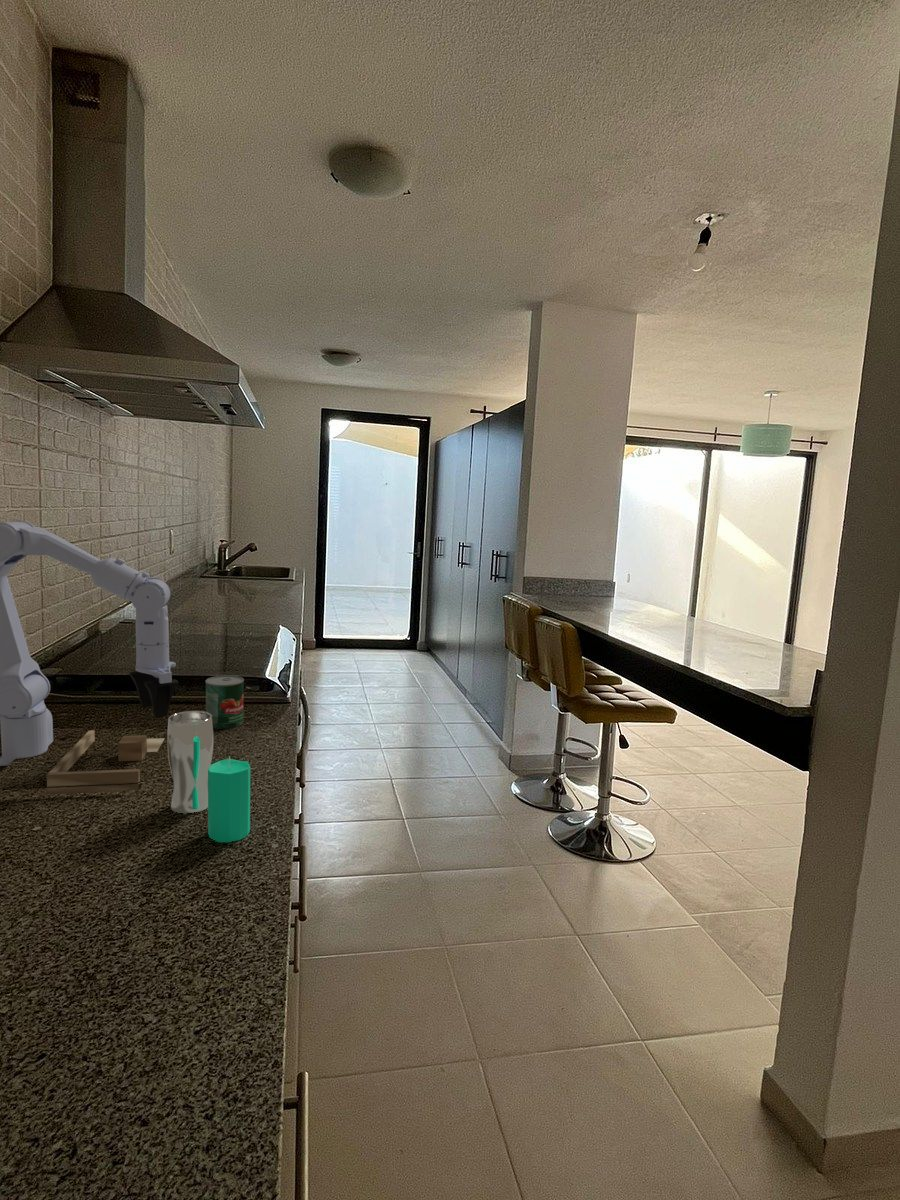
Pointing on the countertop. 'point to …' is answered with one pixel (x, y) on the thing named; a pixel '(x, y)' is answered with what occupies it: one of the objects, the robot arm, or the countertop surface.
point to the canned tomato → (225, 701)
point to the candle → (229, 800)
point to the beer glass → (190, 759)
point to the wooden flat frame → (93, 772)
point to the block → (132, 748)
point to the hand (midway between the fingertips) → (154, 711)
